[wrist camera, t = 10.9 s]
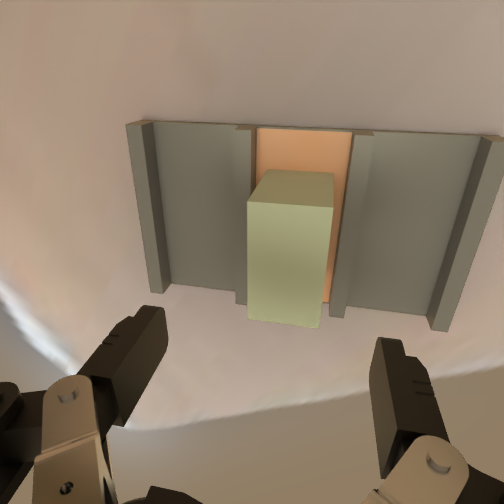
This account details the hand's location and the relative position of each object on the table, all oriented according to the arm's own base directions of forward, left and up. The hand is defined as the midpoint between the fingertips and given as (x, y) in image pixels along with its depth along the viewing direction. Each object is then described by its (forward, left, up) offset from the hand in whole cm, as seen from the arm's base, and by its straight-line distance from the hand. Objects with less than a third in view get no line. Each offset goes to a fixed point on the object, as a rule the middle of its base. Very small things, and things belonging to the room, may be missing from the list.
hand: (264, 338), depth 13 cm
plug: (0, 0, -11) cm, 11 cm away
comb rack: (0, 0, -12) cm, 12 cm away
